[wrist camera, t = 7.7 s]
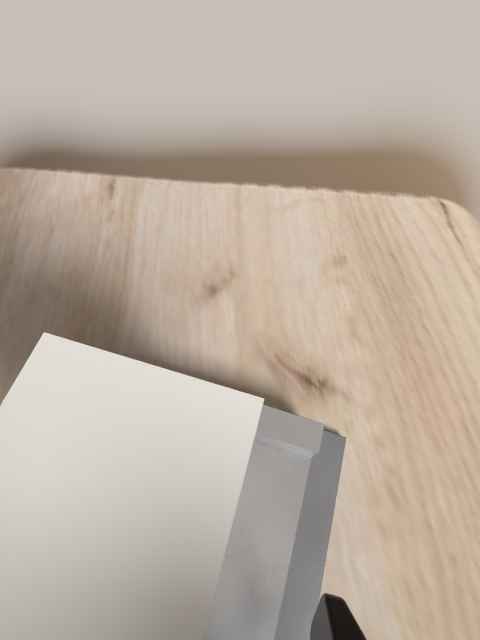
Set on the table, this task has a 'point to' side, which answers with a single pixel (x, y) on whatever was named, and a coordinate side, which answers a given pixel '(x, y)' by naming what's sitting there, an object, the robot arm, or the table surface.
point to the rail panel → (278, 532)
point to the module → (115, 495)
